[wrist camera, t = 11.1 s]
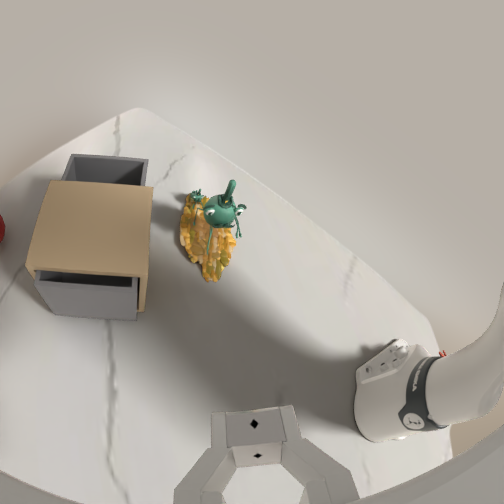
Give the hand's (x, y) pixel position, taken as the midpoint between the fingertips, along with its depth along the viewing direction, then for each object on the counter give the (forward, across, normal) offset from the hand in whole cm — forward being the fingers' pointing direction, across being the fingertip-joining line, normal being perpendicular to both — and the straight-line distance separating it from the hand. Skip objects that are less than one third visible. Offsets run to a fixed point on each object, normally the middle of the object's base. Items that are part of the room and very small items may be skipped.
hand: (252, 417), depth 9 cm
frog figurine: (+40, +4, +6) cm, 41 cm away
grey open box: (+31, +20, +4) cm, 36 cm away
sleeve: (+29, +20, +6) cm, 36 cm away
